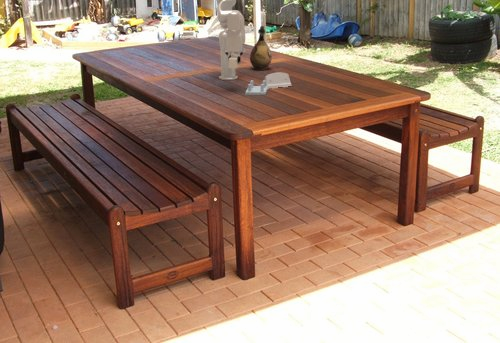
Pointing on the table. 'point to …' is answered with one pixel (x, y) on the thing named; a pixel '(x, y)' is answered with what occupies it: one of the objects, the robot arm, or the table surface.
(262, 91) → the rack
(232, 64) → the clay bar
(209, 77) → the table surface
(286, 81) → the white router
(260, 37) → the ceramic jug
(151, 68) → the table surface
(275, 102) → the table surface
